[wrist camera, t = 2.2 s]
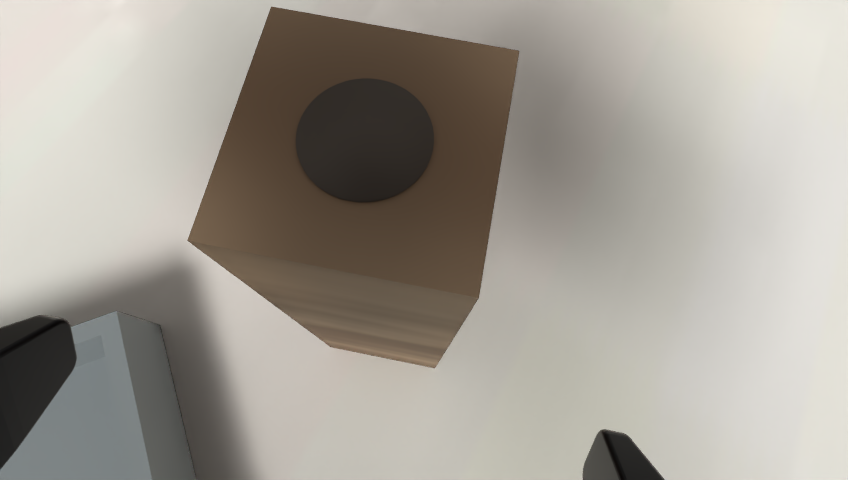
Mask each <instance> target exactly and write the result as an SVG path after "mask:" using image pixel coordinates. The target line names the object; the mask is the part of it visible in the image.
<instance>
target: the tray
mask: <svg viewBox="0 0 848 480" xmlns="http://www.w3.org/2000/svg"><path fill="white" fill-rule="evenodd" d="M71 330H72V335H73V339H74V344H75V349H76V354H77V361H76V365H75V367H74V369H73V371H72V373H71V374H70V376H69V377H68V378H67V380H66V381H65V383H64V384H63V386H62V387H61V388H60V390H59V391H58V393H57V394H56V395H55V397H54V398H53V400H52V401H51V403H50V404H49V405H48V407H47V408H46V410H45V411H44V412H43V414H42V415H41V417H40V418H39V420H38V421H37V422H36V424H35V425H34V427H33V428H32V430H31V431H30V432H29V434H28V435H27V437H26V438H25V439H24V441H23V442H22V443H21V445H20V446H19V447H18V449H17V450H16V451H15V453H14V454H13V455H12V456H11V458H10V459H9V460H8V461H7V462H6V464H5V465H4V466H3V467H2V468H1V470H0V480H196V476H195V472H194V468H193V463H192V459H191V455H190V451H189V447H188V442H187V438H186V434H185V430H184V425H183V421H182V417H181V413H180V408H179V404H178V400H177V396H176V391H175V387H174V383H173V379H172V375H171V370H170V366H169V362H168V358H167V353H166V349H165V345H164V341H163V336H162V332H161V328H160V325H158V324H155V323H152V322H149V321H146V320H143V319H140V318H137V317H134V316H131V315H128V314H125V313H122V312H118V311H114V312H112V313H109V314H106V315H103V316H100V317H98V318H95V319H92V320H89V321H86V322H83V323H81V324H78V325H75V326H72V327H71Z"/></svg>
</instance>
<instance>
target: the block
mask: <svg viewBox="0 0 848 480" xmlns="http://www.w3.org/2000/svg"><path fill="white" fill-rule="evenodd" d="M518 56H519V51H517V50H511V49H506V48H500V47H495V46H489V45H483V44H478V43H472V42H467V41H461V40H455V39H450V38H444V37H439V36H433V35H427V34H422V33H416V32H411V31H405V30H399V29H394V28H388V27H383V26H377V25H371V24H366V23H360V22H355V21H349V20H343V19H338V18H332V17H326V16H321V15H315V14H310V13H304V12H298V11H293V10H287V9H282V8H276V7H271V9H270V12H269V15H268V17H267V20H266V23H265V26H264V28H263V31H262V34H261V37H260V40H259V42H258V45H257V48H256V51H255V54H254V56H253V59H252V62H251V65H250V68H249V70H248V73H247V76H246V79H245V82H244V84H243V87H242V90H241V93H240V95H239V98H238V101H237V104H236V107H235V109H234V112H233V115H232V118H231V121H230V123H229V126H228V129H227V132H226V135H225V137H224V140H223V143H222V146H221V149H220V151H219V154H218V157H217V160H216V162H215V165H214V168H213V171H212V174H211V176H210V179H209V182H208V185H207V188H206V190H205V193H204V196H203V199H202V202H201V204H200V207H199V210H198V213H197V216H196V218H195V221H194V224H193V227H192V229H191V232H190V235H189V238H188V241H189V242H190V243H191V244H193V245H194V246H195V247H197V248H198V249H199V250H201V251H202V252H203V253H205V254H206V255H207V256H209V257H210V258H211V259H213V260H214V261H216V262H217V263H218V264H220V265H221V266H222V267H224V268H225V269H226V270H228V271H229V272H230V273H232V274H233V275H234V276H236V277H237V278H238V279H240V280H241V281H242V282H244V283H245V284H247V285H248V286H249V287H251V288H252V289H253V290H255V291H256V292H257V293H259V294H260V295H261V296H263V297H264V298H265V299H267V300H268V301H269V302H271V303H272V304H273V305H275V306H276V307H277V308H279V309H280V310H282V311H283V312H284V313H286V314H287V315H288V316H290V317H291V318H292V319H294V320H295V321H296V322H298V323H299V324H300V325H302V326H303V327H304V328H306V329H307V330H308V331H310V332H311V333H313V334H314V335H315V336H317V337H318V338H319V339H321V340H322V341H323V342H325V343H326V344H327V345H329V346H330V347H333V348H338V349H343V350H348V351H353V352H358V353H363V354H368V355H373V356H378V357H383V358H388V359H392V360H397V361H402V362H407V363H412V364H417V365H422V366H427V367H432V368H435V367H436V366H437V364H438V362H439V361H440V359H441V358H442V356H443V354H444V353H445V351H446V350H447V348H448V346H449V345H450V343H451V342H452V340H453V338H454V337H455V335H456V334H457V332H458V330H459V329H460V327H461V326H462V324H463V322H464V321H465V319H466V318H467V316H468V314H469V313H470V311H471V310H472V308H473V306H474V305H475V303H476V302H477V300H478V298H479V293H480V287H481V281H482V275H483V269H484V263H485V256H486V250H487V244H488V238H489V232H490V226H491V220H492V214H493V208H494V202H495V196H496V190H497V184H498V177H499V171H500V165H501V159H502V153H503V147H504V141H505V135H506V129H507V123H508V117H509V111H510V104H511V98H512V92H513V86H514V80H515V74H516V68H517V62H518Z"/></svg>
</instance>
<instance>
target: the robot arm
mask: <svg viewBox="0 0 848 480" xmlns="http://www.w3.org/2000/svg"><path fill="white" fill-rule="evenodd" d="M76 361H77V354H76V349H75V344H74V339H73V335H72V330H71V326H70V324H69V322H68V321H67V320H65V319H63V318H58V317H53V316H48V315H38V316H35V317H32V318H29V319H26V320H23V321H20V322H17V323H14V324H11V325H8V326H5V327H2V328H0V470H1V468H2V467H3V466H4V465H5V464H6V462H7V461H8V460H9V459H10V458H11V456H12V455H13V454H14V453H15V451H16V450H17V449H18V447H19V446H20V445H21V443H22V442H23V441H24V439H25V438H26V437H27V435H28V434H29V432H30V431H31V430H32V428H33V427H34V425H35V424H36V422H37V421H38V420H39V418H40V417H41V415H42V414H43V412H44V411H45V410H46V408H47V407H48V405H49V404H50V403H51V401H52V400H53V398H54V397H55V395H56V394H57V393H58V391H59V390H60V388H61V387H62V386H63V384H64V383H65V381H66V380H67V378H68V377H69V376H70V374H71V373H72V371H73V369H74V367H75V365H76ZM583 480H664V478H663V477H662V476H661V475H660V473H659V472H658V471H657V470H656V469H655V467H654V466H653V465H652V464H651V463H650V461H649V460H648V459H647V458H646V456H645V455H644V454H643V453H642V452H641V450H640V449H639V448H638V447H637V446H636V444H635V443H634V442H633V441H632V439H631V438H630V437H629V436H627V435H626V434H624V433H620V432H615V431H611V430H606V429H604V430H600V431H599V432H598V434H597V435H596V438H595V440H594V442H593V445H592V447H591V449H590V451H589V454H588V456H587V458H586V461H585V463H584V468H583Z"/></svg>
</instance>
